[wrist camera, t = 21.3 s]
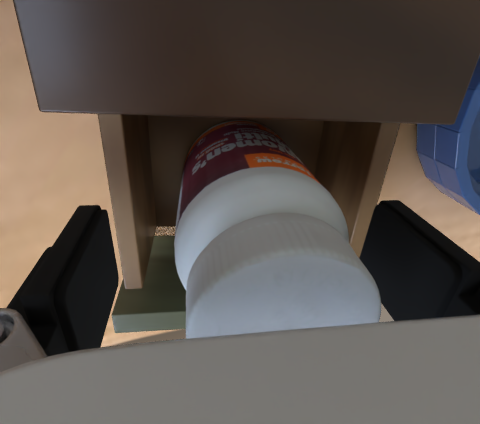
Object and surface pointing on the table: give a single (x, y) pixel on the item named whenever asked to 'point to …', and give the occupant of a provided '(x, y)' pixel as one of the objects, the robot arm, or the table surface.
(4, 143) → the table surface
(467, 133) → the bowl
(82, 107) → the cabinet
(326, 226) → the pill bottle
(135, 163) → the drawer
